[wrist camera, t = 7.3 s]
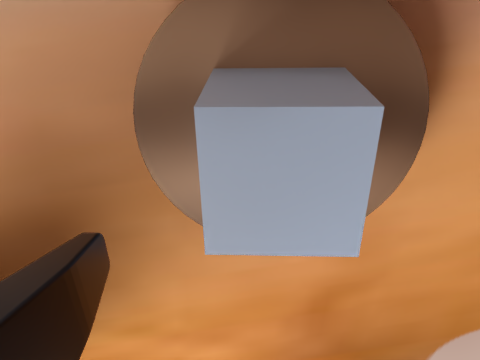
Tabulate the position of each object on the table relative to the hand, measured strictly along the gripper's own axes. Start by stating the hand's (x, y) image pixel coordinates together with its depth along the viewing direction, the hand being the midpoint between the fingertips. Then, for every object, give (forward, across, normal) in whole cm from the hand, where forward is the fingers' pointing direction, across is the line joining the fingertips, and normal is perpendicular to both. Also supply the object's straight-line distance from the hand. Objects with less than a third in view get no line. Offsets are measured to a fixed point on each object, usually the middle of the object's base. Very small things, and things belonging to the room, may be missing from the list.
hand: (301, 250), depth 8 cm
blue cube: (+8, 0, 0) cm, 8 cm away
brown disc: (+10, 0, 0) cm, 11 cm away
